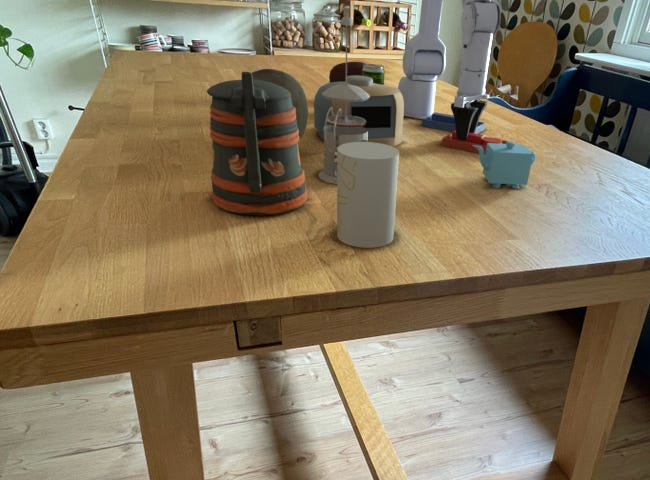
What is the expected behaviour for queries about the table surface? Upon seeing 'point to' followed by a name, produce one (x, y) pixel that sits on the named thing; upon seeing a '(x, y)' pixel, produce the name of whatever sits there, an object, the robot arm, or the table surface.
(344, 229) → the cup
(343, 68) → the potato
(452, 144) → the red tray
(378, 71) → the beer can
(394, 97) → the alarm clock
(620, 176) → the table surface
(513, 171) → the teapot
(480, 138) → the red spoon
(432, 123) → the blue tray
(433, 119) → the blue spoon
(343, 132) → the french press
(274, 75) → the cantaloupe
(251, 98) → the tankard
